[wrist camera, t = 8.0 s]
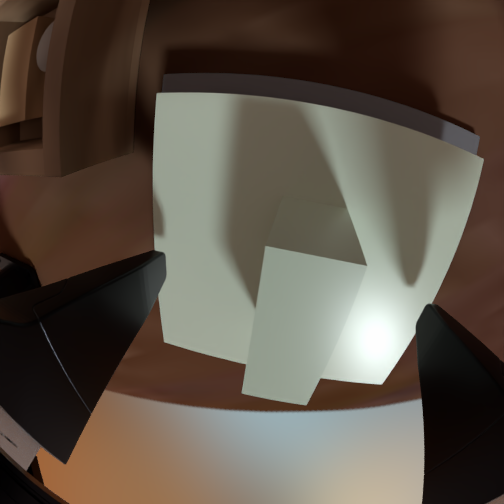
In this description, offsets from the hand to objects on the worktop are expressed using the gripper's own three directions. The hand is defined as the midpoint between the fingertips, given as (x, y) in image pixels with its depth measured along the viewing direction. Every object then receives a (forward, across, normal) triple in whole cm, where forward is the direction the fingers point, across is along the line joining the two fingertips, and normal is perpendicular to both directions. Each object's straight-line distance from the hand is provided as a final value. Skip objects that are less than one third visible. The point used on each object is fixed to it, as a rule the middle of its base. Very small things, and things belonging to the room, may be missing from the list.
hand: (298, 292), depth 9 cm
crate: (+4, +13, -8) cm, 16 cm away
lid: (+3, 0, 0) cm, 3 cm away
